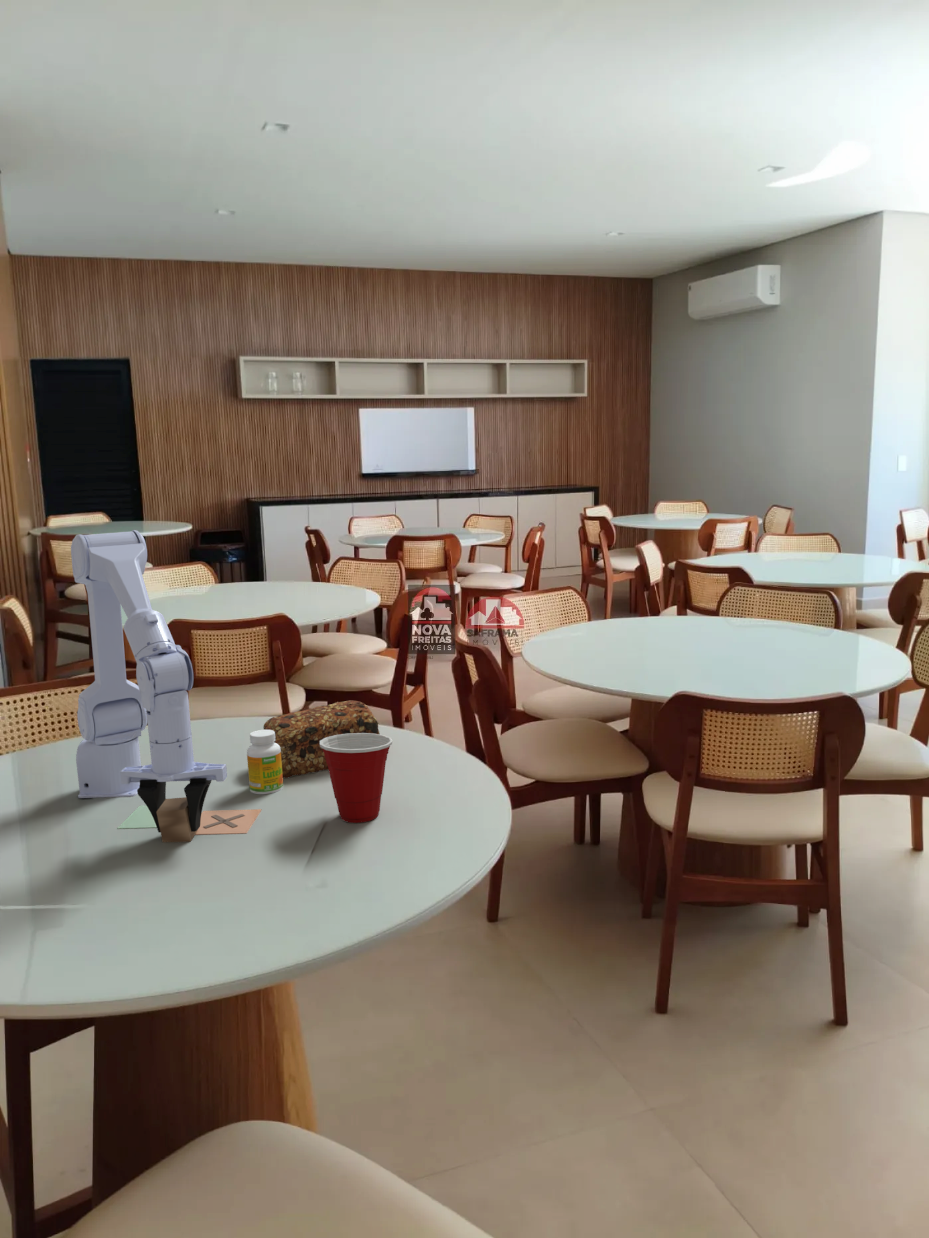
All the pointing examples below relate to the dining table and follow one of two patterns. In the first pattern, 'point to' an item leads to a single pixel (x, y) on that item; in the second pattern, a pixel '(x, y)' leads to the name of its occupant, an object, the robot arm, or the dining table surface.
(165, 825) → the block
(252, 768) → the supplement bottle
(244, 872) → the dining table surface
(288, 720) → the bread
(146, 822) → the tile
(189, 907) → the dining table surface
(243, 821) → the tile
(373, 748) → the plastic cup
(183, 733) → the robot arm
